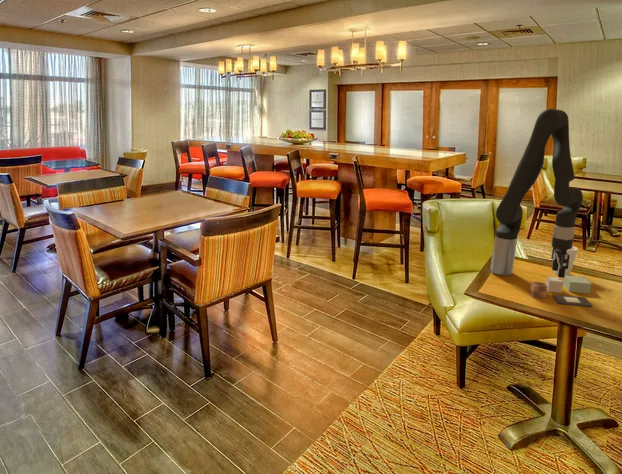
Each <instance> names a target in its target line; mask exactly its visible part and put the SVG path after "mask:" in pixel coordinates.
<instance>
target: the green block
mask: <svg viewBox="0 0 622 474" xmlns="http://www.w3.org/2000/svg"><path fill="white" fill-rule="evenodd" d="M563 286H564V287H565V289H566V290H567V291H568V292H573V293H583V294H591V293H590V292H591V289H592V282H591V281H589V279H587V277H586V276H577V275H569V276H567V275H565V276H564V279H563Z"/></svg>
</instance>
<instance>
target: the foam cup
mask: <svg viewBox="0 0 622 474" xmlns="http://www.w3.org/2000/svg"><path fill="white" fill-rule="evenodd" d="M578 250H579V249H578V247H577V246H576V245H575V246H574V245H572V248H571V249H568V250H567V255H570V257H569V265H568V269H565V275H567V276H570V274H571V272H572V271H571V270H572V268H573V265H574V262H575V260H576V256H577V254H578ZM563 266H564V264H563ZM558 272H559V266H558V270H557V271H553V274H554V275H556V276H558ZM565 275H564V277H565Z"/></svg>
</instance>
